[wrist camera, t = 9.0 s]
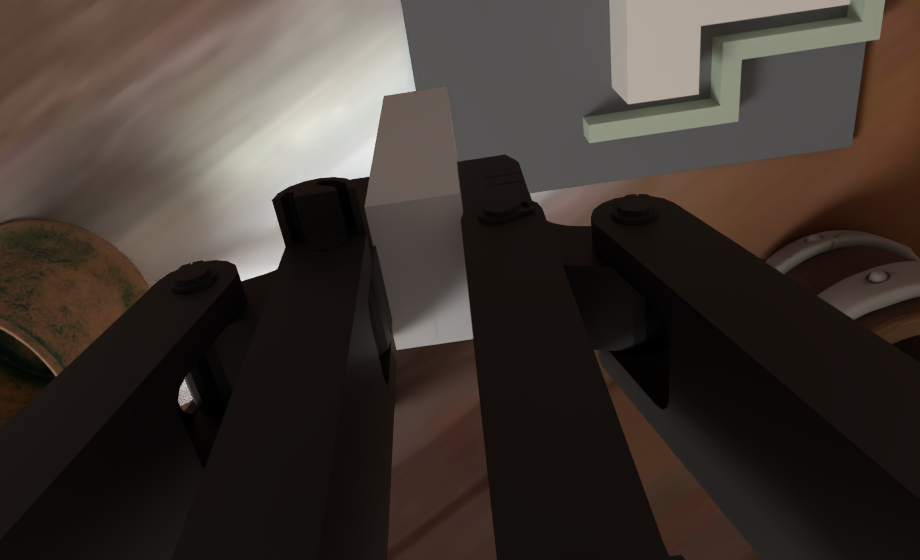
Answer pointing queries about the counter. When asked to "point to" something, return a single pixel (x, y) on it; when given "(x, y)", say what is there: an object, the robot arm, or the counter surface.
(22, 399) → the brown clay pitcher
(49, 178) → the counter surface
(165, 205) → the counter surface
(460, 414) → the counter surface
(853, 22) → the bay
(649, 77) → the t block
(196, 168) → the counter surface
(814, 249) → the flowerpot
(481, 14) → the mat
